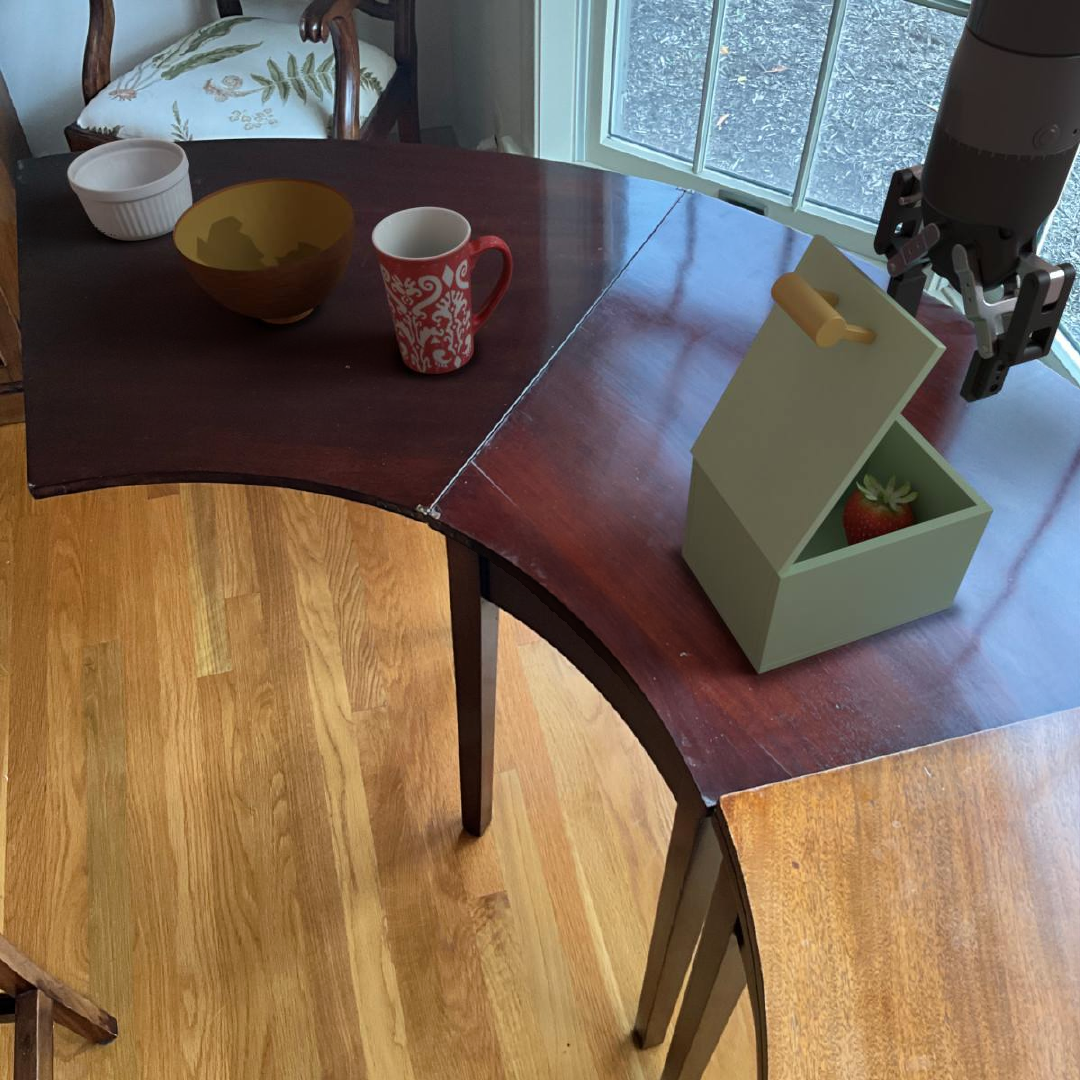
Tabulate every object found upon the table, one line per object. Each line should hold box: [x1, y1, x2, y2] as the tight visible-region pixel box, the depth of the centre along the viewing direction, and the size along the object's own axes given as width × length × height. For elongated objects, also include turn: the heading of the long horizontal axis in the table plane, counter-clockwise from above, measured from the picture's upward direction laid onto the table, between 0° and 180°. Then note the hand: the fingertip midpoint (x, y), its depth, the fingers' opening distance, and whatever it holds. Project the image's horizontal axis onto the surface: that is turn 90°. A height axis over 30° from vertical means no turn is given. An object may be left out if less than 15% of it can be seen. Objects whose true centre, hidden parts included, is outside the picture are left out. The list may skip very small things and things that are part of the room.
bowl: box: [172, 177, 356, 325], centre depth 102 cm, size 18×18×10 cm
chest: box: [681, 413, 995, 675], centre depth 74 cm, size 17×13×11 cm
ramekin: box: [66, 137, 193, 241], centre depth 117 cm, size 13×13×7 cm
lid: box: [689, 233, 947, 574], centre depth 62 cm, size 17×13×5 cm
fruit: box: [843, 474, 917, 546], centre depth 76 cm, size 5×5×8 cm
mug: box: [371, 206, 514, 375], centre depth 95 cm, size 13×9×14 cm
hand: (934, 358), depth 66 cm, fingers open, 8 cm apart
